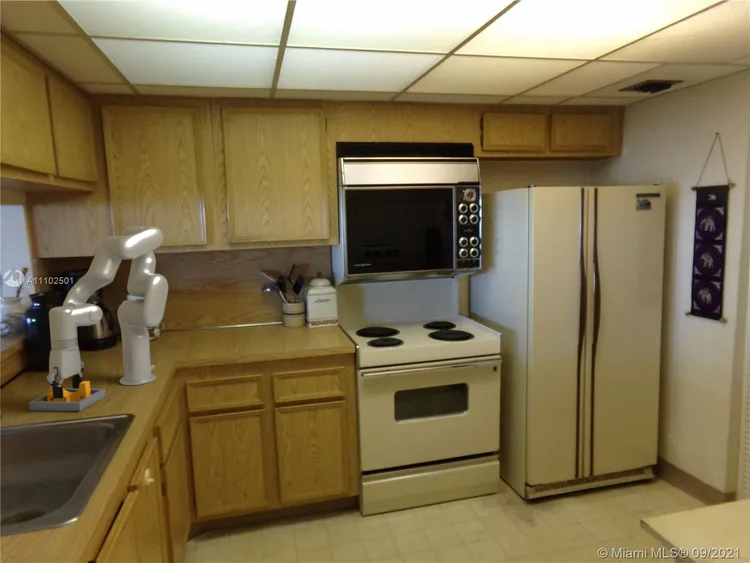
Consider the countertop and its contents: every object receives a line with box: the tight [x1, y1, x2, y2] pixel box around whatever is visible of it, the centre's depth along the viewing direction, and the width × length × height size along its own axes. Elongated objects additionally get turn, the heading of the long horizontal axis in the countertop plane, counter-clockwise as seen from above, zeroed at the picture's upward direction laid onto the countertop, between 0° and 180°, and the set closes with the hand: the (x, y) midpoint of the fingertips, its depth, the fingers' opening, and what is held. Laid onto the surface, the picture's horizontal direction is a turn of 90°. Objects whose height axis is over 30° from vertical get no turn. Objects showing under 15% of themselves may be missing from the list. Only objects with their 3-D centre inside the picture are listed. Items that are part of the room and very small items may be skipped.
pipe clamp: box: [46, 380, 91, 402], centre depth 169 cm, size 12×4×6 cm, turn 89°
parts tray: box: [28, 387, 106, 412], centre depth 169 cm, size 14×17×3 cm
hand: (68, 393), depth 169 cm, fingers open, 9 cm apart
